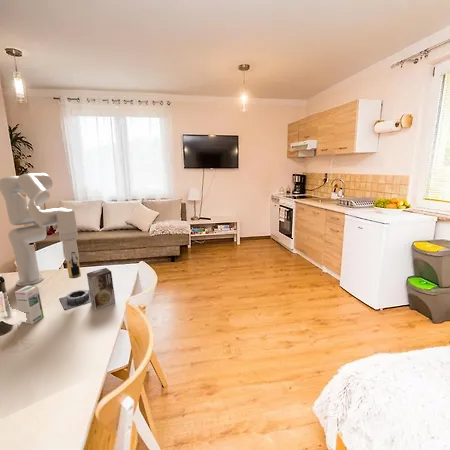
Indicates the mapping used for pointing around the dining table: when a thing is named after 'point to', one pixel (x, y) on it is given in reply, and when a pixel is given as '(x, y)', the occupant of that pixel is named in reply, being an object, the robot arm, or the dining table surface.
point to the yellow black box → (70, 270)
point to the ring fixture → (75, 299)
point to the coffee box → (101, 288)
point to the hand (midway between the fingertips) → (74, 272)
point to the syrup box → (29, 303)
